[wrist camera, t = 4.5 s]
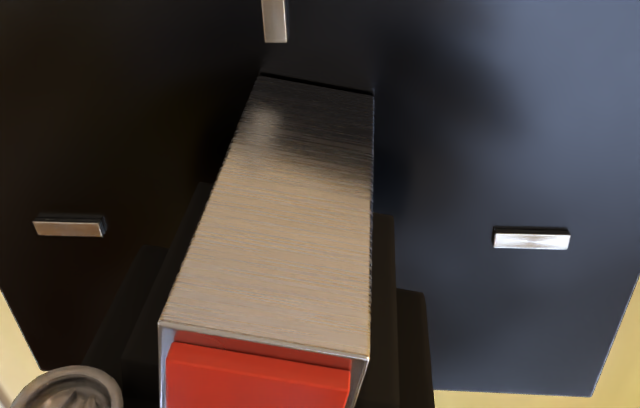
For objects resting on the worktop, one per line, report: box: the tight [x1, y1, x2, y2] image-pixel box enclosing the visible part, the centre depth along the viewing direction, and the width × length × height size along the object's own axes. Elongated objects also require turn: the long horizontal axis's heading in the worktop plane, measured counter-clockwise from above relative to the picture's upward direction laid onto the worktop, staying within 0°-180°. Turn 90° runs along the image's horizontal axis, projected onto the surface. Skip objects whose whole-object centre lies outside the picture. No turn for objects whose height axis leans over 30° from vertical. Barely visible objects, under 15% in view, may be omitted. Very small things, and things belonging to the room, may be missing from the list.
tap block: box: [0, 0, 640, 397], centre depth 13 cm, size 14×11×3 cm
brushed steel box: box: [158, 76, 374, 408], centre depth 9 cm, size 6×2×6 cm, turn 171°
